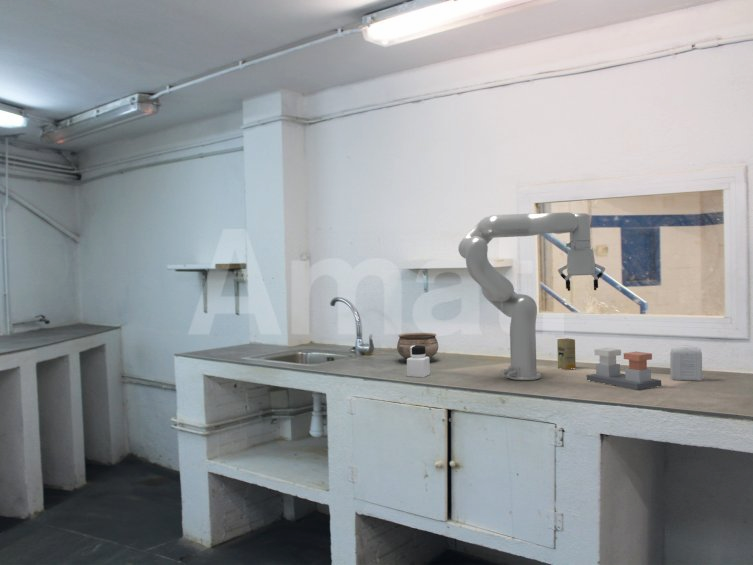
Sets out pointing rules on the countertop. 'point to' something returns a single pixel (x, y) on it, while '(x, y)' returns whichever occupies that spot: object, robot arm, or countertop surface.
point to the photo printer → (686, 363)
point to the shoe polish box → (566, 353)
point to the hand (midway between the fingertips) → (582, 290)
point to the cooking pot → (417, 343)
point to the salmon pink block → (638, 360)
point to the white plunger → (607, 355)
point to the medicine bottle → (418, 362)
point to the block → (624, 377)
